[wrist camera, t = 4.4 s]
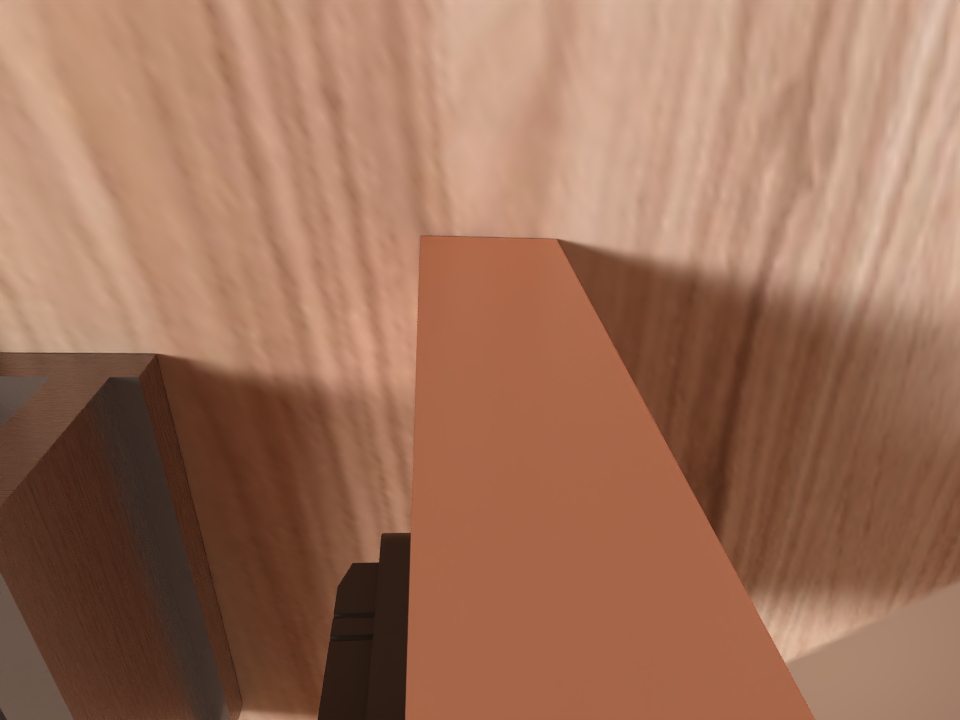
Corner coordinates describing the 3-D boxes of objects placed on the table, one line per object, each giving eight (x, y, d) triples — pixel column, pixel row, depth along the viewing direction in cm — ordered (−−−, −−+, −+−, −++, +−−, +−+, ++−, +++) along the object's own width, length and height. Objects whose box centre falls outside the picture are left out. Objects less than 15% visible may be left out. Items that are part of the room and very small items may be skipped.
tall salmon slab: (420, 235, 13) (381, 1479, 2) (556, 239, 14) (1162, 1364, 2) (419, 558, 18) (407, 1434, 7) (518, 556, 19) (657, 1395, 7)
